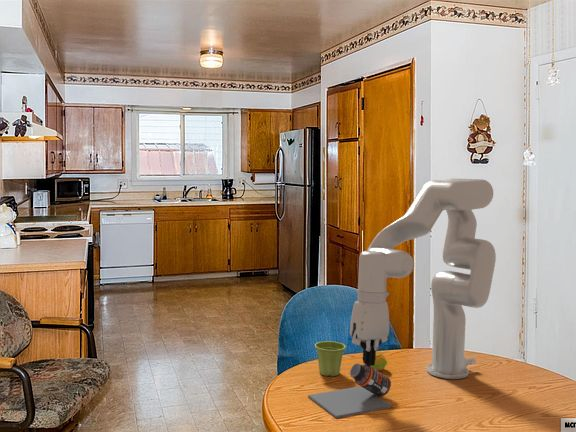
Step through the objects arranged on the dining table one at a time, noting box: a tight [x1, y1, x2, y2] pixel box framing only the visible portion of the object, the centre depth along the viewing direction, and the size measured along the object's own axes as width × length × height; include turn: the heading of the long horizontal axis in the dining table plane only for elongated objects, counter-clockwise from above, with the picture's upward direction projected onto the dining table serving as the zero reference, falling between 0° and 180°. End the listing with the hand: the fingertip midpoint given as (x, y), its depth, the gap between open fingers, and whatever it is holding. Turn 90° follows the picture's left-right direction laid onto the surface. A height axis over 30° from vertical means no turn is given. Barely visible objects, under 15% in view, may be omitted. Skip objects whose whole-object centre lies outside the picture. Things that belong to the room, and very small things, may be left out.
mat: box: [307, 385, 393, 419], centre depth 156 cm, size 17×15×1 cm
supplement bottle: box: [349, 363, 392, 398], centre depth 159 cm, size 6×6×11 cm
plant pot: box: [314, 340, 347, 377], centre depth 179 cm, size 9×9×9 cm
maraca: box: [362, 352, 388, 372], centre depth 183 cm, size 7×10×5 cm
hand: (368, 364), depth 158 cm, fingers closed
